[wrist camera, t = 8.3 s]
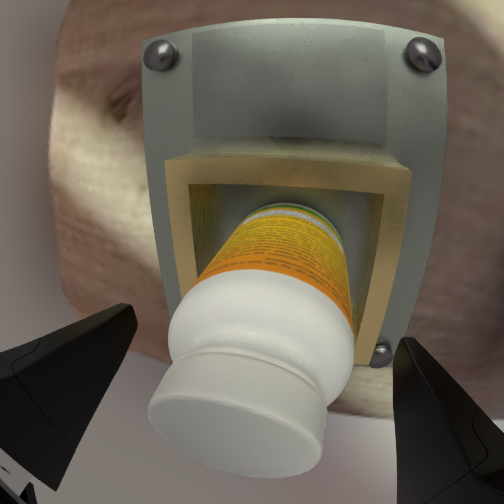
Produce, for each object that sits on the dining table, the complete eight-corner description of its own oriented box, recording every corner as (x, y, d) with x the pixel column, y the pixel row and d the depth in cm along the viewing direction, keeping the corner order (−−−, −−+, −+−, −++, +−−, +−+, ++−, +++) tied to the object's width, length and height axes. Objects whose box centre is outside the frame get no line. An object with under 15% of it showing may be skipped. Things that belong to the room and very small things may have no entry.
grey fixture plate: (423, 51, 10) (461, 27, 6) (386, 336, 18) (395, 391, 13) (170, 50, 13) (118, 33, 9) (192, 315, 21) (162, 361, 16)
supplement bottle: (223, 204, 13) (77, 345, 5) (342, 196, 12) (378, 376, 3) (241, 302, 15) (165, 466, 7) (344, 302, 14) (342, 492, 5)
